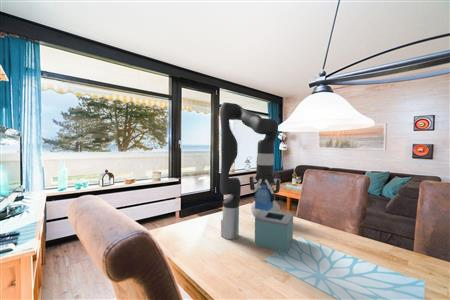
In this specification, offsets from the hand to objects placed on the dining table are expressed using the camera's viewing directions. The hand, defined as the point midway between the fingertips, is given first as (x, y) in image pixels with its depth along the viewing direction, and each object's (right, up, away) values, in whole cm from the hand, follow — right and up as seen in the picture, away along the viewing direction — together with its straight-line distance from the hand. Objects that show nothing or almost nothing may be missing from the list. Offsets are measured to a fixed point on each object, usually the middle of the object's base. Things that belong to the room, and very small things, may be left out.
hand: (264, 200), depth 92 cm
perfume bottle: (0, -3, 0) cm, 3 cm away
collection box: (+9, -27, +19) cm, 34 cm away
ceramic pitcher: (+9, -26, +49) cm, 56 cm away
